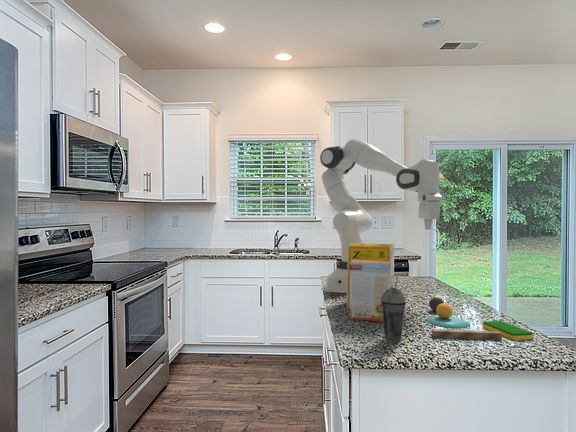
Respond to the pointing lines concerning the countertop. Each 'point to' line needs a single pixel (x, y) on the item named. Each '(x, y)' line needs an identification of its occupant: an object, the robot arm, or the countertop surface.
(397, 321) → the beverage cup
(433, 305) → the dark gray ball
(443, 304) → the orange ball
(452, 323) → the teal mark
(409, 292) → the countertop surface
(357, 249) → the packaging box
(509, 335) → the dish sponge
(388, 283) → the cracker box
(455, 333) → the brown wooden bar
